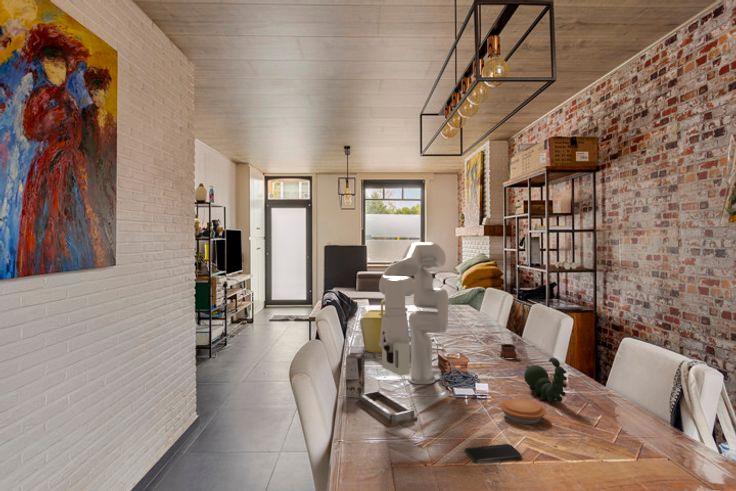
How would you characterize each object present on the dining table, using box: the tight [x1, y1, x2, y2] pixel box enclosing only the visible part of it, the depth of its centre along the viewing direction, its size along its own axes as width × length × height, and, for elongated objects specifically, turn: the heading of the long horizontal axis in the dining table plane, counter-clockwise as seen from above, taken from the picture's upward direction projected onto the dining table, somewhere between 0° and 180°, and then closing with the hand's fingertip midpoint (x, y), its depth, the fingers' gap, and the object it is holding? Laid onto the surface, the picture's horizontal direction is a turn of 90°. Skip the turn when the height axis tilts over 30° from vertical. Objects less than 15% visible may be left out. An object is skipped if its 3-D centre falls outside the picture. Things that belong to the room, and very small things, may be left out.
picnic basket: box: [359, 296, 408, 354], centre depth 252 cm, size 29×26×30 cm
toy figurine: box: [523, 357, 568, 403], centre depth 171 cm, size 9×19×25 cm
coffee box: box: [345, 352, 366, 399], centre depth 175 cm, size 9×6×16 cm
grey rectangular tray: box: [355, 389, 418, 428], centre depth 156 cm, size 12×24×4 cm, turn 29°
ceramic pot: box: [499, 343, 517, 358], centre depth 229 cm, size 18×18×7 cm
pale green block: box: [381, 341, 411, 376], centre depth 154 cm, size 4×12×11 cm, turn 31°
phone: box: [464, 443, 523, 464], centre depth 124 cm, size 8×1×15 cm
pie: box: [499, 398, 547, 425], centre depth 150 cm, size 16×16×5 cm
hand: (395, 361), depth 155 cm, fingers closed on pale green block, 4 cm apart
